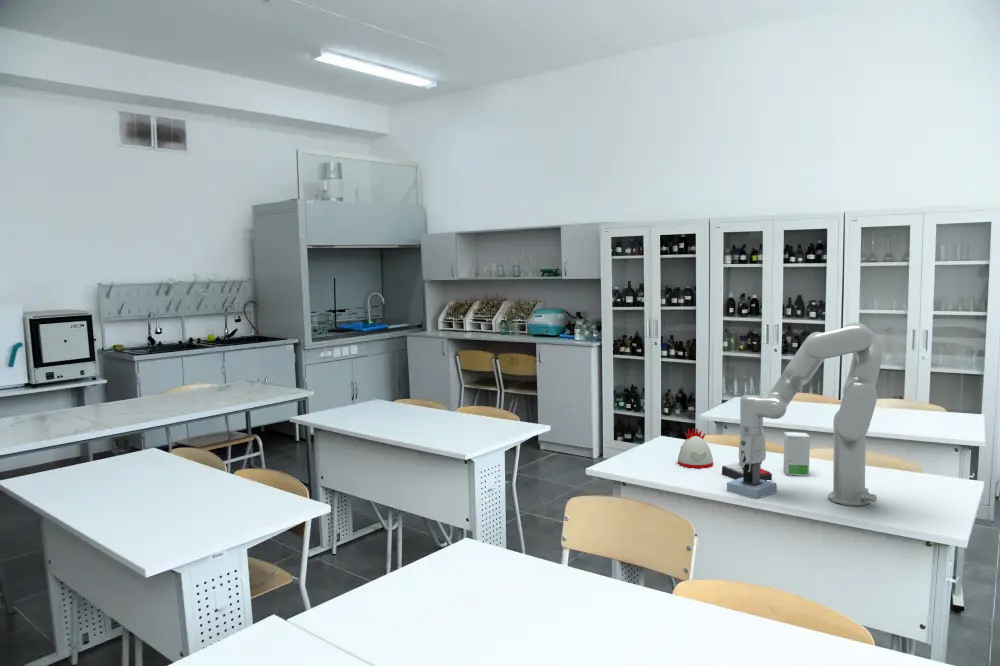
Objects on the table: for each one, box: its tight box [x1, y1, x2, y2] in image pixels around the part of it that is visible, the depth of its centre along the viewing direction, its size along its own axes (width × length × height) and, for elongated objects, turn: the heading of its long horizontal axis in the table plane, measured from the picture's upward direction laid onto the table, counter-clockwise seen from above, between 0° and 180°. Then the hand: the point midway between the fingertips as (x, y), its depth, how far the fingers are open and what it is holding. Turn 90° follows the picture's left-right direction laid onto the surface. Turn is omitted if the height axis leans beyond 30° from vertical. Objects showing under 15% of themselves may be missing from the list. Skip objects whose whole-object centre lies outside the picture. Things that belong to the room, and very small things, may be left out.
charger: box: [743, 463, 760, 486], centre depth 242 cm, size 4×4×8 cm
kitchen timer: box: [677, 428, 714, 470], centre depth 279 cm, size 14×14×15 cm
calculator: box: [721, 462, 773, 481], centre depth 259 cm, size 11×4×15 cm
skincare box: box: [782, 431, 811, 477], centre depth 261 cm, size 8×7×16 cm
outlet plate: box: [726, 477, 778, 499], centre depth 243 cm, size 12×12×3 cm
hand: (751, 480), depth 242 cm, fingers closed on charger, 4 cm apart
